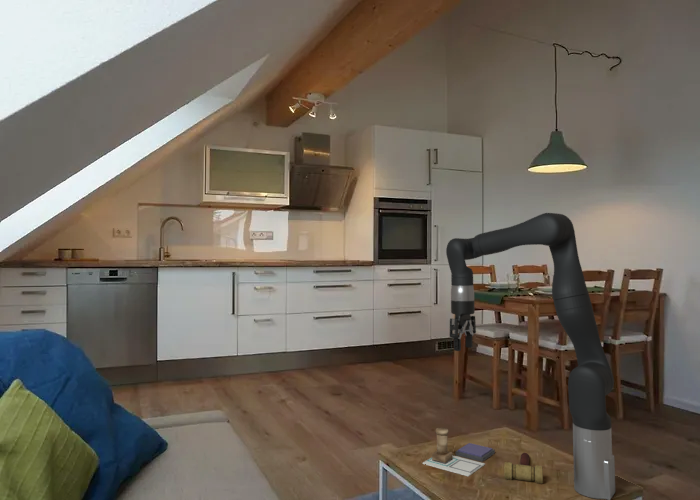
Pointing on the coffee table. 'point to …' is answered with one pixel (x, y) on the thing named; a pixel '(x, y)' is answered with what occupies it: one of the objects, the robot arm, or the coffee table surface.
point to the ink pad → (475, 452)
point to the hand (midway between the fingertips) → (463, 349)
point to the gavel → (523, 470)
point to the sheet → (457, 465)
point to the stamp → (442, 447)
